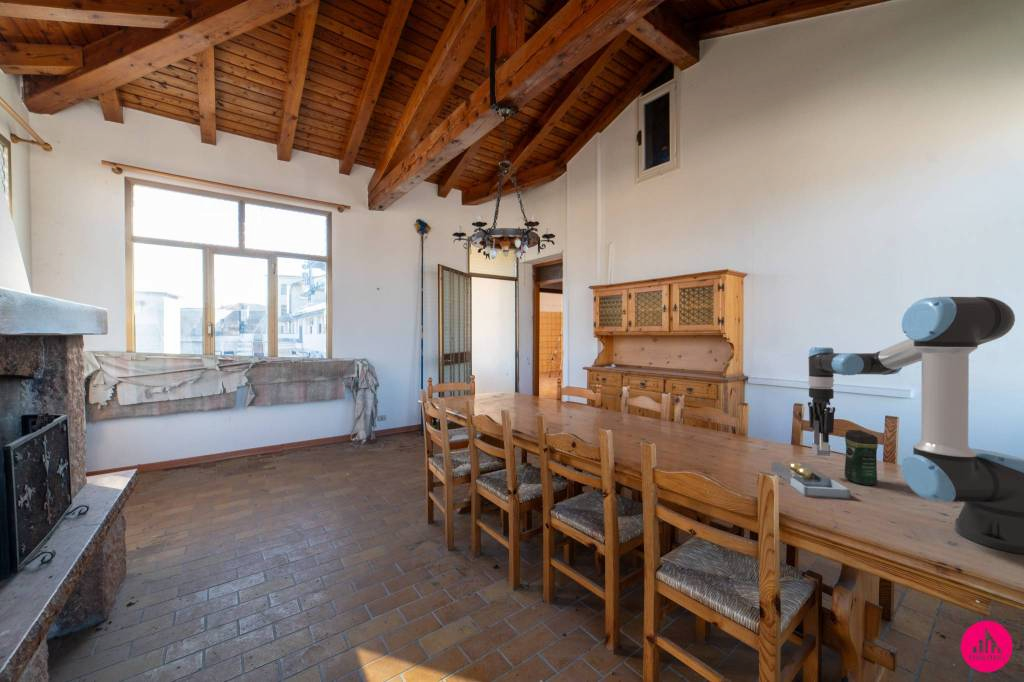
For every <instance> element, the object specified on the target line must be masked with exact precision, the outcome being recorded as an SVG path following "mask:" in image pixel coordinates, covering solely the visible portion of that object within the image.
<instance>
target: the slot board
mask: <svg viewBox="0 0 1024 682" xmlns="http://www.w3.org/2000/svg"><path fill="white" fill-rule="evenodd" d="M799 463H800V464H802V465H803V467H805V468H809V469H812V479H804V478H802V476H800V475H799V474H797V473H796V472H794V471H793V470H791V469H790V466H786V465H785V464H783V463H782V462H779V461H778V462H777V461H772V462H771V471H772V470H773V471H774V472H775V473H774V472H773V471H772V472H773V473H774V474H776V473H777V474H776V475H777V476H779V477H780V476H781V477H783V478H784V479H785V480H786V481H785V480H784V479H783V480H784V481H785V482H787V483H788V485H789V484H790V485H791V478H794V479H796V480H797V481H798V482H800V483H801V484H803V485H806V486H825V487H830V480H832V479H831V478H830V477H829V476H827V475H826V474H824V473H822V472H820V471H819V470H817V469H815V468H813V467H812V466H811V465H808V464H807V463H803V462H802V463H801V462H799ZM781 477H780V478H781Z"/></svg>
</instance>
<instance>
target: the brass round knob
mask: <svg viewBox="0 0 1024 682" xmlns="http://www.w3.org/2000/svg"><path fill="white" fill-rule="evenodd" d="M800 463H801V462H795V461H794V462H793V461H792V462H789V467H790V469H791V470H793V471H794V472H796V473H797V474H799V467H803V465H802V464H800Z"/></svg>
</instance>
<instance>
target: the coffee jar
mask: <svg viewBox="0 0 1024 682" xmlns="http://www.w3.org/2000/svg"><path fill="white" fill-rule="evenodd" d="M844 436H845V437H844V441H845V461H844V477H845V478H846V479H847V480H849V481H851V482H853V483H855V484H860V485H864V486H873V485H877V483H878V468H877V465H878V464H877V457H878V456H877V453H878V452H877V451H878V447H879V442H878V441H879V440H878V437H877V436H875V435H874V434H871V433H868V432H865V431H864V430H863V431H862V430H860V429H859V430H858V429H849V430H847V431H845V435H844Z"/></svg>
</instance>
